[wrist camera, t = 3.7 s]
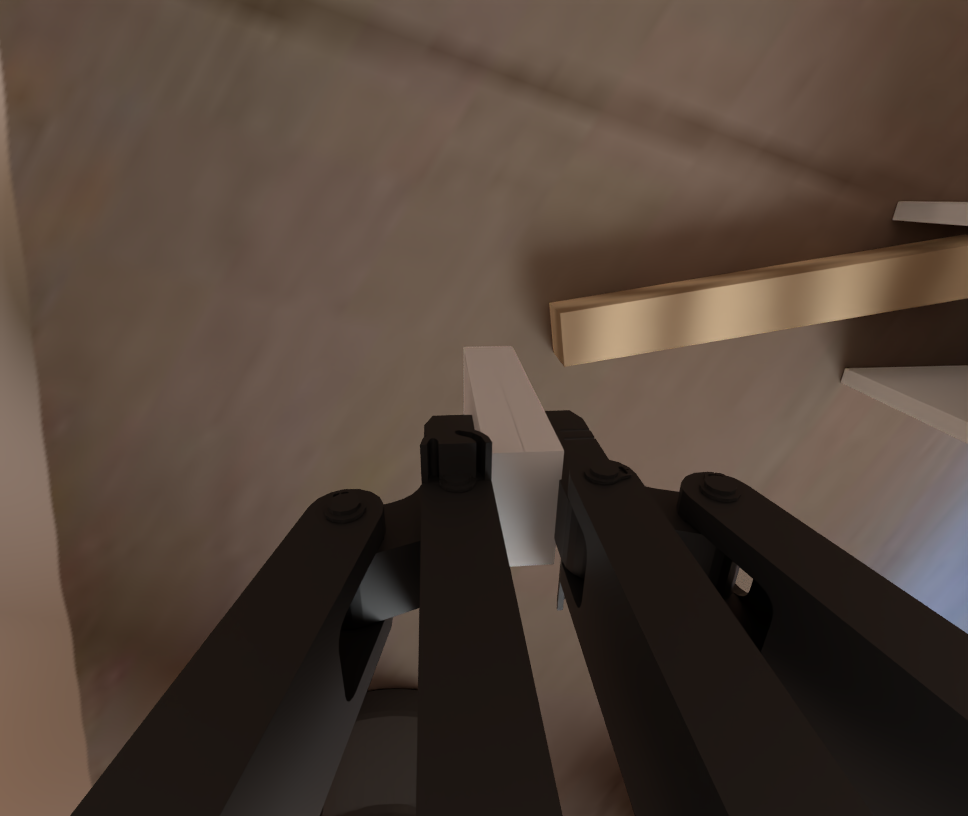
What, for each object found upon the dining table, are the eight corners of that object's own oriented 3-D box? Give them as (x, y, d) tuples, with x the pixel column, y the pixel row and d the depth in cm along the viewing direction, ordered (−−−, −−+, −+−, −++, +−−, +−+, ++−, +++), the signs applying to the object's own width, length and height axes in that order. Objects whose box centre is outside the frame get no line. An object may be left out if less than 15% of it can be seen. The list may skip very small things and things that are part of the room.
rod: (552, 350, 31) (564, 366, 28) (547, 301, 29) (560, 313, 27) (946, 284, 31) (995, 293, 29) (957, 233, 30) (1010, 238, 28)
